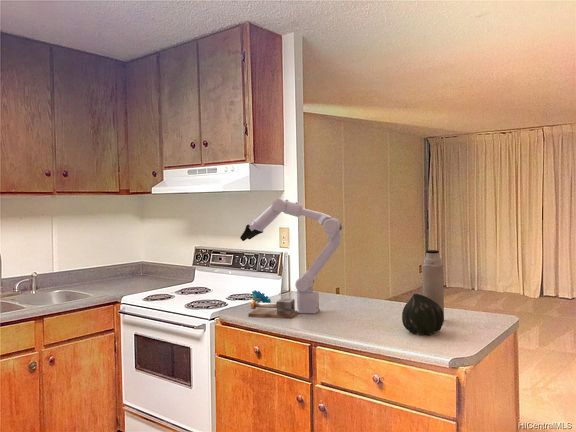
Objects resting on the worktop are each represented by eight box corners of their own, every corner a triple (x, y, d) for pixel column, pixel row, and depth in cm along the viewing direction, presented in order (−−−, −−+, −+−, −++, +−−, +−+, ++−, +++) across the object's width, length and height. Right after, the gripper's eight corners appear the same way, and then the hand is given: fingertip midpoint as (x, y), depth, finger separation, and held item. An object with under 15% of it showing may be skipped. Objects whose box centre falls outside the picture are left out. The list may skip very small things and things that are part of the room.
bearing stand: (297, 313, 205) (297, 298, 205) (292, 318, 197) (291, 302, 197) (255, 311, 211) (255, 297, 211) (248, 316, 202) (247, 301, 202)
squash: (457, 317, 171) (430, 284, 177) (440, 328, 160) (411, 292, 165) (430, 337, 178) (405, 305, 184) (412, 349, 167) (386, 314, 173)
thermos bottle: (425, 317, 194) (424, 249, 193) (446, 319, 189) (445, 249, 188) (420, 321, 187) (419, 251, 186) (441, 323, 183) (440, 251, 182)
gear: (275, 301, 222) (261, 289, 218) (269, 312, 219) (255, 299, 215) (261, 301, 231) (248, 289, 227) (255, 311, 228) (242, 299, 224)
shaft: (282, 309, 204) (282, 300, 204) (280, 311, 201) (280, 302, 201) (253, 307, 208) (253, 299, 208) (251, 309, 205) (250, 301, 204)
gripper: (265, 211, 220) (244, 230, 223) (254, 212, 206) (233, 233, 209) (274, 223, 218) (254, 242, 222) (264, 224, 205) (243, 245, 208)
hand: (244, 238), depth 215 cm, fingers open, 7 cm apart
